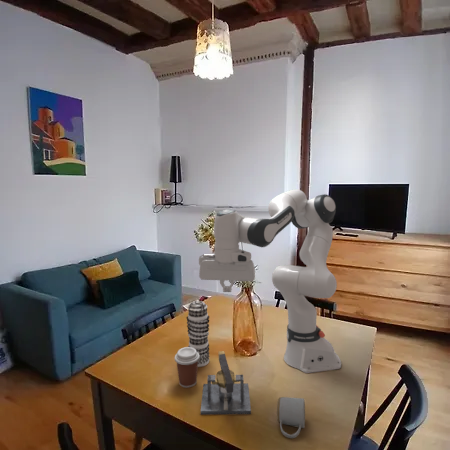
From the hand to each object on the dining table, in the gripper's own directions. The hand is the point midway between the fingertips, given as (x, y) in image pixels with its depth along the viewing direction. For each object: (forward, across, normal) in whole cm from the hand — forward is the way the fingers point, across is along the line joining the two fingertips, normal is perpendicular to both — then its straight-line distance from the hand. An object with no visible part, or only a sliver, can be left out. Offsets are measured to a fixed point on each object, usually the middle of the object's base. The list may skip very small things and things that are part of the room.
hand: (227, 291), depth 120 cm
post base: (+33, +1, -14) cm, 36 cm away
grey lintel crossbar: (+27, +1, -14) cm, 30 cm away
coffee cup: (+33, -14, -6) cm, 37 cm away
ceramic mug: (+34, +23, -23) cm, 46 cm away
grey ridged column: (+33, -13, +8) cm, 37 cm away
